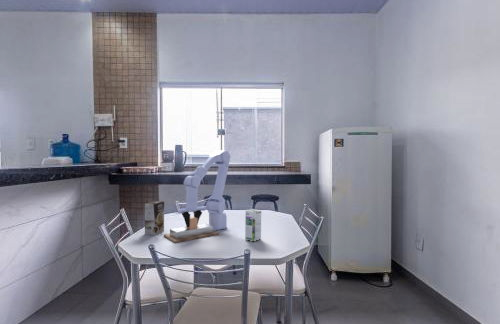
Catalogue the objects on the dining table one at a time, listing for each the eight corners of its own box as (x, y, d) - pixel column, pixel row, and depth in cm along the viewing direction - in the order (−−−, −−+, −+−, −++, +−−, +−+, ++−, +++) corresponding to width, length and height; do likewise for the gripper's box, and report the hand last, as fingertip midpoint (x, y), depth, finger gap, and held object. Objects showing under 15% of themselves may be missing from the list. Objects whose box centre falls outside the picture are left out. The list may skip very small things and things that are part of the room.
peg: (193, 228, 144) (193, 216, 144) (197, 229, 141) (197, 217, 141) (186, 229, 142) (186, 217, 142) (190, 230, 139) (190, 218, 139)
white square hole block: (205, 229, 151) (205, 223, 151) (212, 231, 145) (212, 226, 145) (170, 235, 139) (170, 229, 139) (176, 238, 133) (176, 232, 133)
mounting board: (205, 229, 155) (205, 227, 155) (219, 234, 144) (219, 232, 144) (163, 236, 140) (163, 234, 140) (175, 243, 129) (175, 240, 129)
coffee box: (155, 235, 142) (155, 203, 142) (144, 234, 143) (144, 203, 143) (164, 230, 151) (164, 201, 151) (153, 230, 152) (153, 200, 152)
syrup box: (244, 240, 134) (244, 210, 134) (252, 237, 139) (252, 208, 139) (253, 242, 131) (253, 211, 130) (261, 239, 135) (261, 209, 135)
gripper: (181, 201, 134) (181, 229, 134) (208, 199, 143) (208, 225, 143) (175, 199, 140) (175, 227, 140) (201, 197, 149) (201, 222, 149)
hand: (191, 226), depth 142 cm, fingers closed on peg, 4 cm apart
